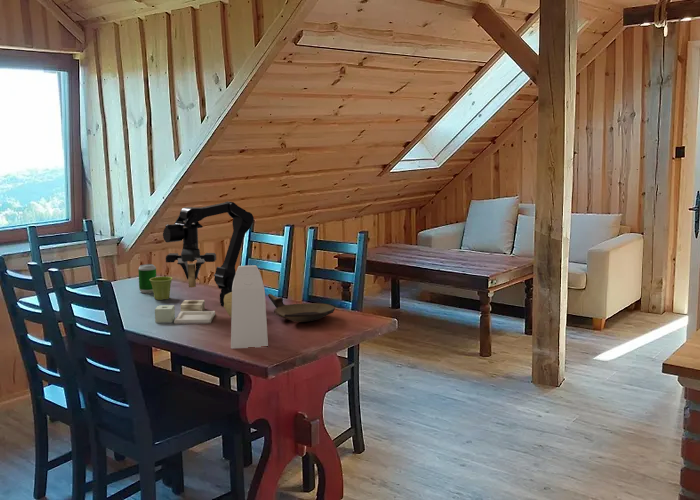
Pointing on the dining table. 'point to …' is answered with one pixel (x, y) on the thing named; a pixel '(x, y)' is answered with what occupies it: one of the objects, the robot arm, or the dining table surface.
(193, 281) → the dowel pin
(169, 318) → the narrow bore block
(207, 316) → the tray
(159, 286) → the plant pot
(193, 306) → the wide bore block
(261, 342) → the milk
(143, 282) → the soda can
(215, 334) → the dining table surface
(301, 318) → the oil lamp
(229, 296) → the sculpture
